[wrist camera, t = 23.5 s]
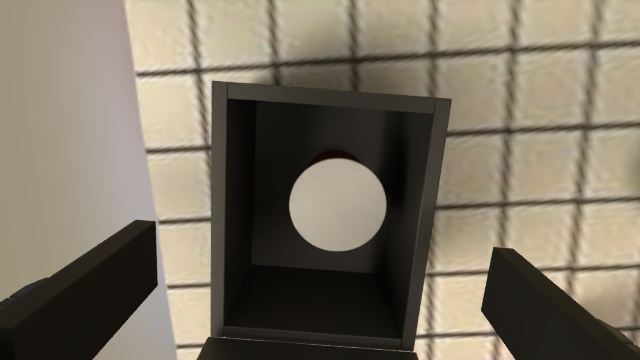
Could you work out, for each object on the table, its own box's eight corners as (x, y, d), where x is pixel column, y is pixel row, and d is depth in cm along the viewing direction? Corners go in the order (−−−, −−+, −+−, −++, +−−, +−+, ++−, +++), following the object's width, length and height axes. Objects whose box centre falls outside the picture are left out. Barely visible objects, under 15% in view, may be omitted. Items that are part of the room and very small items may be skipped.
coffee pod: (298, 142, 27) (291, 155, 21) (377, 147, 27) (391, 161, 21) (295, 217, 28) (287, 248, 23) (370, 222, 28) (381, 254, 23)
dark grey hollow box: (248, 84, 27) (211, 80, 18) (412, 97, 27) (452, 99, 18) (243, 267, 30) (210, 337, 22) (389, 278, 30) (413, 352, 22)
